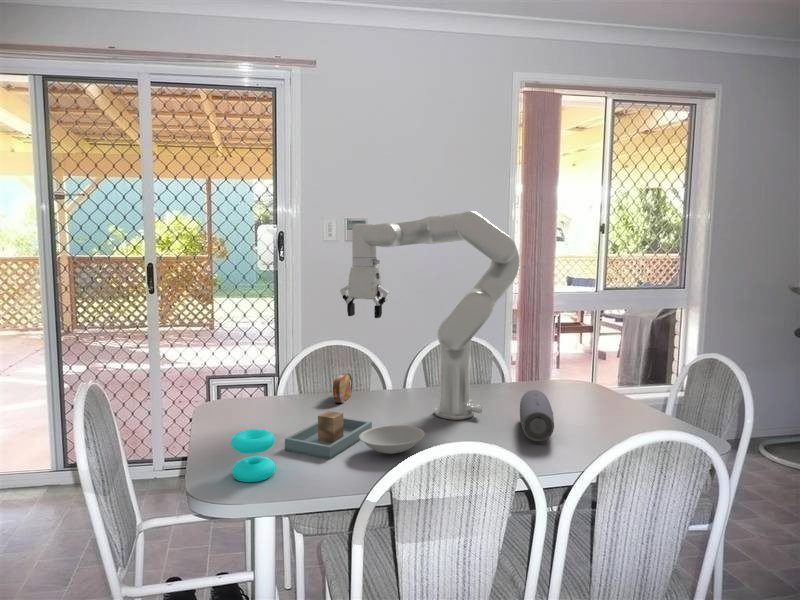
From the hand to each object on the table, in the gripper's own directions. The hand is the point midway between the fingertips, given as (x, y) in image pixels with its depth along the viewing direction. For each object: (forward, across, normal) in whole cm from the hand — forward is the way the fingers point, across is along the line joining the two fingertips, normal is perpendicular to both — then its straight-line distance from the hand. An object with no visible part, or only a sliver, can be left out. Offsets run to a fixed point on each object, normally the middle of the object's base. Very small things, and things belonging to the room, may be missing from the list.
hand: (364, 316), depth 186 cm
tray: (+30, -6, +30) cm, 43 cm away
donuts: (+31, -2, +57) cm, 65 cm away
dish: (+31, -25, +30) cm, 50 cm away
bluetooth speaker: (+31, -55, -3) cm, 63 cm away
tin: (+31, +12, -6) cm, 33 cm away
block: (+30, -6, +30) cm, 43 cm away
